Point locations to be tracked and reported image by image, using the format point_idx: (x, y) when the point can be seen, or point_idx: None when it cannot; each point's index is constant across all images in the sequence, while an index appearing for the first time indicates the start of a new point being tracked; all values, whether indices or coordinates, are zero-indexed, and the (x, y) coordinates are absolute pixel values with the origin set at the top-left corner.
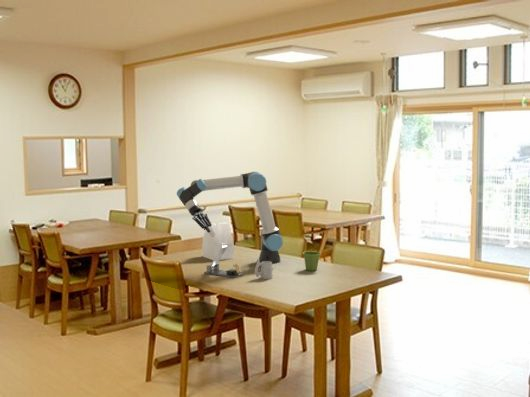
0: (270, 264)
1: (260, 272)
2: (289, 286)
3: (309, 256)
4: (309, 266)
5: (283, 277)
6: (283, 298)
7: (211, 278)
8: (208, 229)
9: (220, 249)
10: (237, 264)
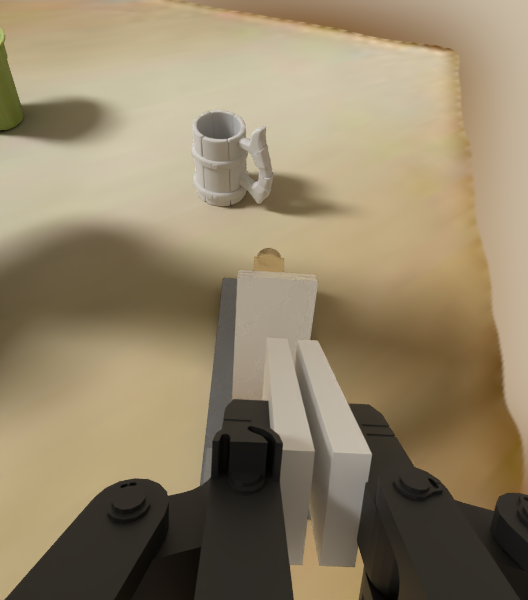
0: (225, 117)
1: (250, 177)
2: (295, 102)
3: (3, 48)
4: (17, 100)
5: (182, 149)
6: (420, 80)
7: (389, 382)
8: (373, 437)
9: (312, 311)
10: (261, 260)
